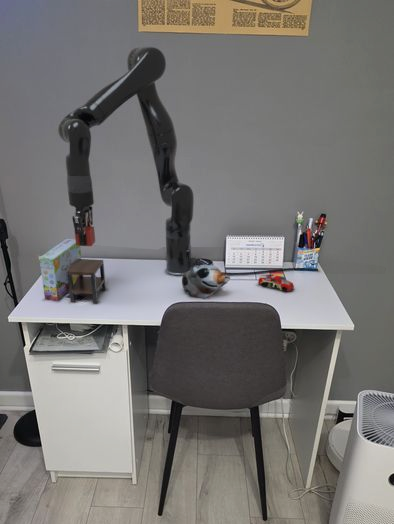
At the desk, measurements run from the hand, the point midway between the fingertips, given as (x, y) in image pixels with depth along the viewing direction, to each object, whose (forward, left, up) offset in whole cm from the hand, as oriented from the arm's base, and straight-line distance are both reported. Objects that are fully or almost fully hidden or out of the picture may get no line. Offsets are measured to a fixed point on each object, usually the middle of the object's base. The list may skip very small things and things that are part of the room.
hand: (85, 242), depth 160 cm
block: (0, 0, 0) cm, 0 cm away
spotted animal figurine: (-39, -7, -19) cm, 44 cm away
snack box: (+11, -5, -19) cm, 23 cm away
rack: (+1, 0, -19) cm, 19 cm away
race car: (-64, -15, -19) cm, 69 cm away
